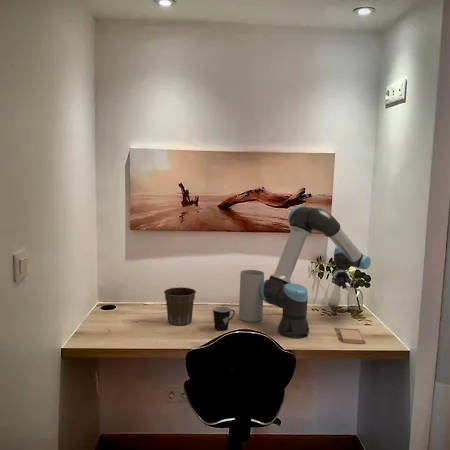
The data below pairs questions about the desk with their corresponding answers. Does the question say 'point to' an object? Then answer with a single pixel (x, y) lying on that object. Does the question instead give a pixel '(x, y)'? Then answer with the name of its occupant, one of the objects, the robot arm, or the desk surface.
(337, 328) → the board
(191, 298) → the plant pot
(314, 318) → the desk surface
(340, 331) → the picture frame
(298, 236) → the robot arm
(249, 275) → the cylinder vase
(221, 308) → the coffee mug
